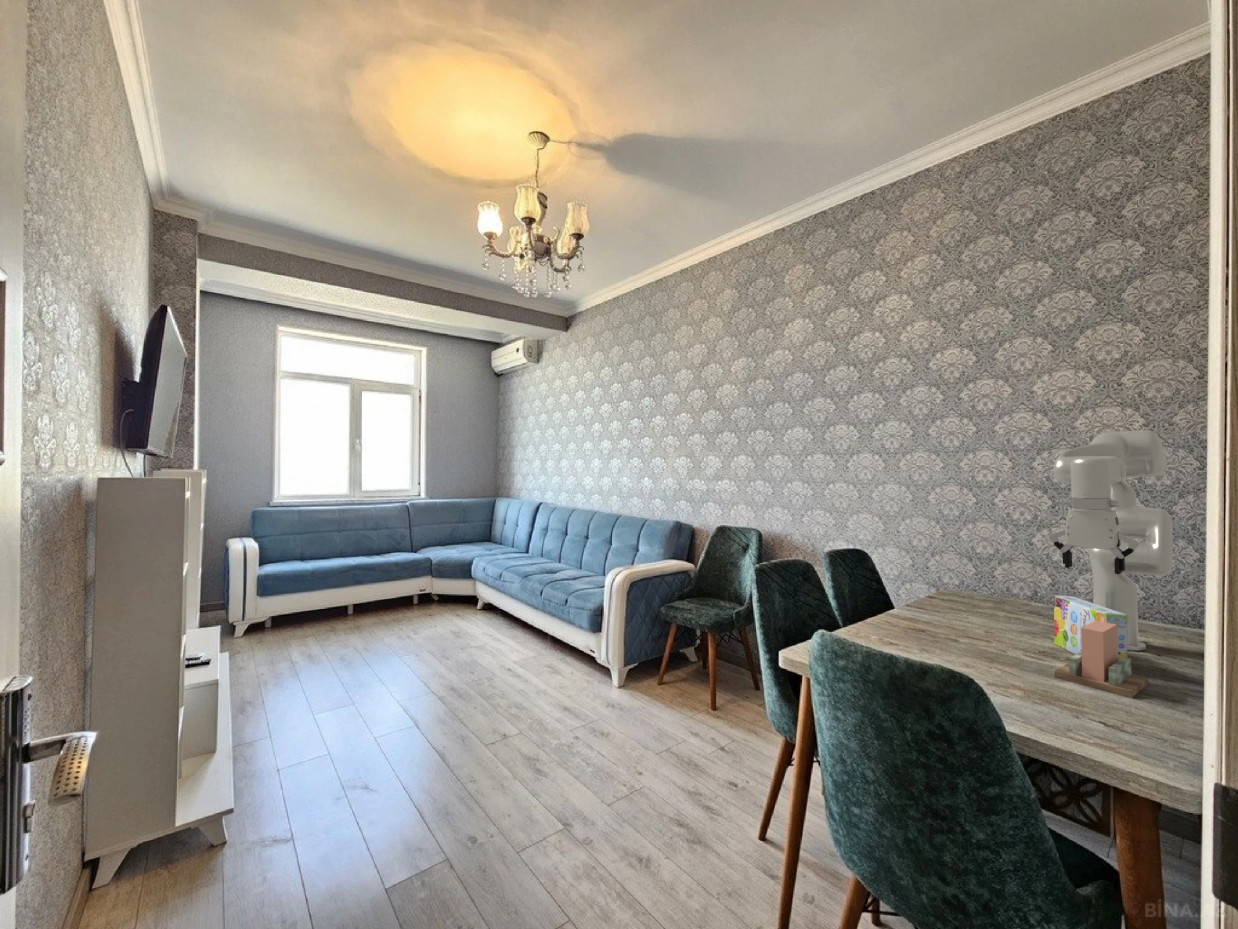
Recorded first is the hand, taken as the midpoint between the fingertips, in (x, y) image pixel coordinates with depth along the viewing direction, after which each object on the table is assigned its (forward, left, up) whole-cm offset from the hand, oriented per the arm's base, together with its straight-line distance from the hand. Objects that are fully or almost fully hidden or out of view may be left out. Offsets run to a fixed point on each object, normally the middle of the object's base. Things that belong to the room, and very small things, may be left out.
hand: (1092, 570), depth 129 cm
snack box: (-14, -5, -27) cm, 31 cm away
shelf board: (+5, +2, -27) cm, 27 cm away
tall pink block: (+5, +2, -25) cm, 26 cm away
